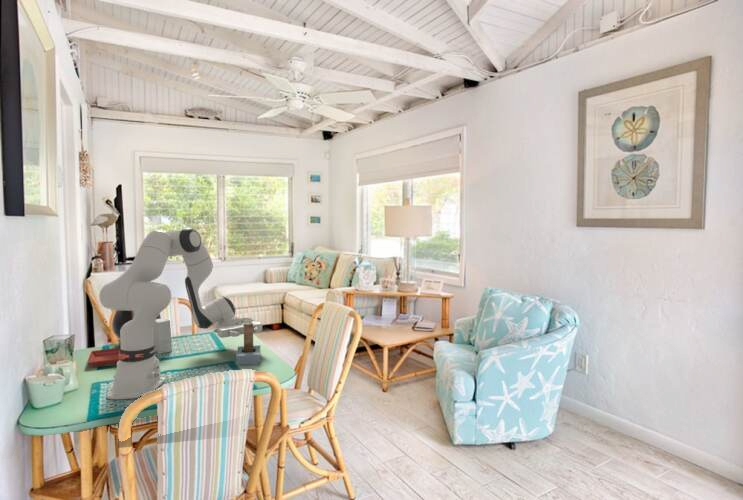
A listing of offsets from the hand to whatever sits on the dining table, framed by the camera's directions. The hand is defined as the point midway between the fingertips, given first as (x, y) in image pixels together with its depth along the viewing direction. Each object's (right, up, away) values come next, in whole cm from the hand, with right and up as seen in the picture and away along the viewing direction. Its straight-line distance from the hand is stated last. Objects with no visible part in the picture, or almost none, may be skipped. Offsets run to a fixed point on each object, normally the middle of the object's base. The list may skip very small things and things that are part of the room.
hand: (247, 332), depth 202 cm
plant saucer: (-58, -12, -3) cm, 59 cm away
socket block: (+1, -12, 0) cm, 12 cm away
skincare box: (-43, -11, +11) cm, 45 cm away
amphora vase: (-60, -10, +21) cm, 64 cm away
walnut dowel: (+1, -12, 0) cm, 12 cm away
